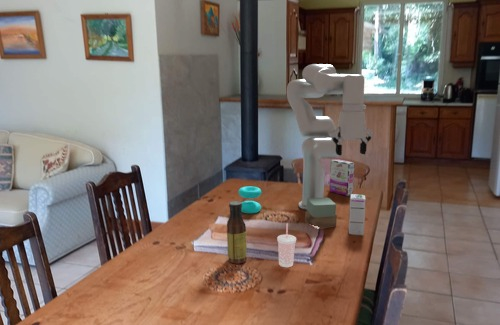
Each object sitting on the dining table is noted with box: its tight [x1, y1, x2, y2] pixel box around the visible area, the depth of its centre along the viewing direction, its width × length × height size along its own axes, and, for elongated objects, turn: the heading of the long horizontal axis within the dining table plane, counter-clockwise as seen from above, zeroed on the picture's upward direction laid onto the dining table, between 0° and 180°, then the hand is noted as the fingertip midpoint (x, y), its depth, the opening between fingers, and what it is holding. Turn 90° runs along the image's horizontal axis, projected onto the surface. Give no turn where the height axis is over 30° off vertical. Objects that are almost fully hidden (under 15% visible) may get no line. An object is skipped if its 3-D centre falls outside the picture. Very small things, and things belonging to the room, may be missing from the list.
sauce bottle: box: [226, 200, 248, 265], centre depth 142 cm, size 7×6×20 cm
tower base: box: [304, 210, 338, 230], centre depth 177 cm, size 9×9×5 cm
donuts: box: [238, 185, 262, 214], centre depth 192 cm, size 10×10×10 cm
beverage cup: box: [276, 222, 297, 268], centre depth 141 cm, size 6×6×14 cm
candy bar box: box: [329, 158, 356, 197], centre depth 218 cm, size 11×5×16 cm, turn 43°
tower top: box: [306, 196, 337, 217], centre depth 176 cm, size 9×9×5 cm
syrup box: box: [348, 193, 366, 236], centre depth 168 cm, size 6×6×14 cm
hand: (350, 154), depth 165 cm, fingers open, 9 cm apart
